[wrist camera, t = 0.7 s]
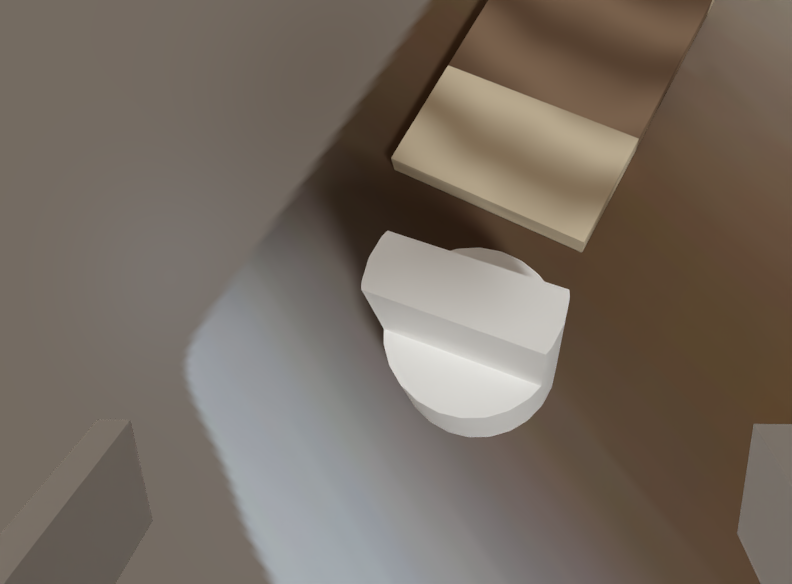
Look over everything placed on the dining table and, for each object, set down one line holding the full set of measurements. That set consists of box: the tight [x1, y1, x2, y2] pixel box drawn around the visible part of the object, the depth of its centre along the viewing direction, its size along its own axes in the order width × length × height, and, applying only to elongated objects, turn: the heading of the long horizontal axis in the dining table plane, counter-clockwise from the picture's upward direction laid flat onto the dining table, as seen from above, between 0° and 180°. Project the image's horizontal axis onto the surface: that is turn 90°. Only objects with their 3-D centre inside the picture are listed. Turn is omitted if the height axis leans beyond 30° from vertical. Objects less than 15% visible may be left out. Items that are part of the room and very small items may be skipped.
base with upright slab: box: [361, 231, 570, 437], centre depth 38 cm, size 9×9×12 cm
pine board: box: [391, 0, 715, 252], centre depth 49 cm, size 26×13×2 cm, turn 150°
